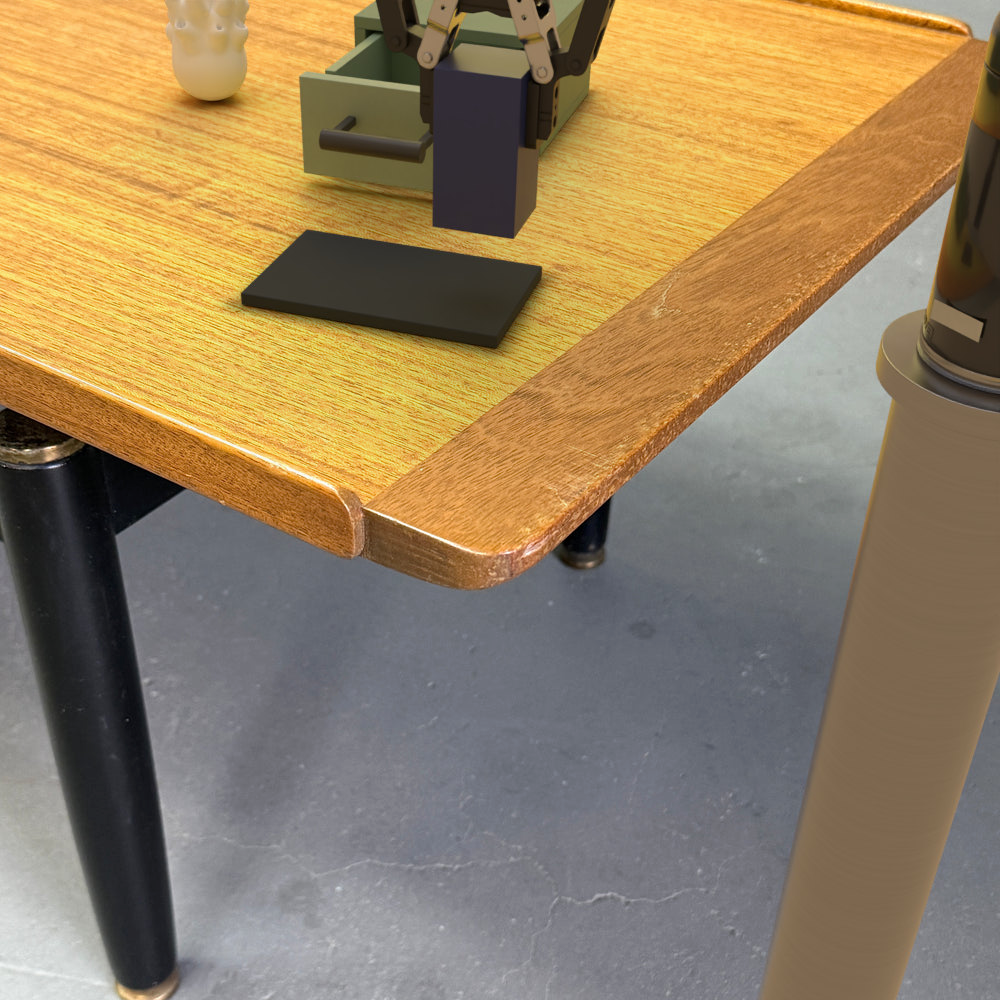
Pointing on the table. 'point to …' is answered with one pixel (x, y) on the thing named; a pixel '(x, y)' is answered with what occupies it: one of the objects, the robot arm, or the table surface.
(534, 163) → the navy box
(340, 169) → the drawer
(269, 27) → the table surface
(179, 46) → the figurine
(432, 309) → the mat
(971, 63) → the table surface
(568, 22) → the cabinet
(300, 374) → the table surface
